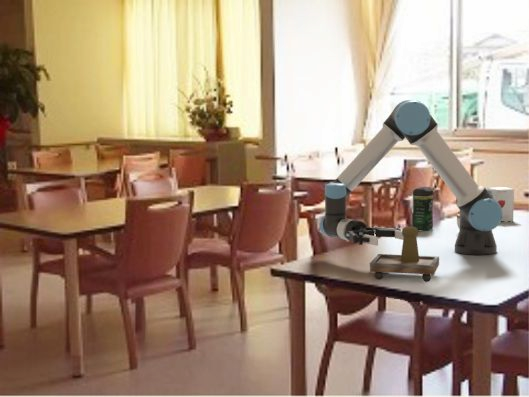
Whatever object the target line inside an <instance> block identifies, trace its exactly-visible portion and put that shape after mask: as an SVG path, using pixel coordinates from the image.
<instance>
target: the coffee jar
mask: <svg viewBox="0 0 529 397" xmlns="http://www.w3.org/2000/svg"><path fill="white" fill-rule="evenodd" d="M433 200H434V189H433V188H431V187H430V186H422V187H421V186H420V187H417V188H415V189H413V191H412V225H411V227H416V228H417V229H418V230H422V231H425V230H427V231H430V230H432V229H433V227H434V220H433V219H434V216H433V214H434V212H433V206H434V205H433V204H434V202H433Z"/></svg>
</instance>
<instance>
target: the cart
mask: <svg viewBox="0 0 529 397" xmlns="http://www.w3.org/2000/svg"><path fill="white" fill-rule="evenodd" d="M439 266H440V256H436V255H435V256H434V255H419V261H418V262H403V261H401V254H391V253H390V254H387V253H385V254H383V253H378V254H377V255H376V256H375V257H374V258H373V259H372V260H371V262H370V263H369V272H371V273H374V274H373V275H374V278H375V280H379V281H381V280H383V279H384V277H385V274H384V273H386V274H387V273H389V274H390V273H392V274H411V275H421V280H422V281H423V282H424V283H429V282H431V280H432V276H433V275H435V273H436V271H437V270H438V268H439Z"/></svg>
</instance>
